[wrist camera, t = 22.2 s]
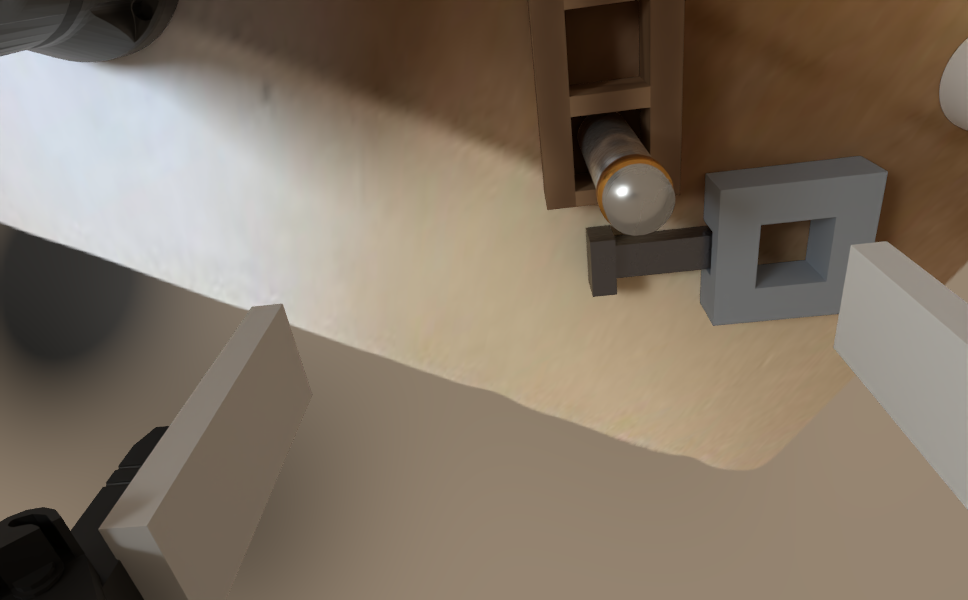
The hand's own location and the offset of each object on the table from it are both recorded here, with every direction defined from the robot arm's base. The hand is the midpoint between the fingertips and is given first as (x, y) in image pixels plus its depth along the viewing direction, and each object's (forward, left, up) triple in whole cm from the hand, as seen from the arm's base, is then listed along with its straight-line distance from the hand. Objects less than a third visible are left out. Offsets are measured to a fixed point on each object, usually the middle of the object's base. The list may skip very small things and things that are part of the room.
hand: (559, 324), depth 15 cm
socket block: (+20, -16, -37) cm, 45 cm away
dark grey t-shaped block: (+9, -16, -36) cm, 41 cm away
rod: (+6, -6, -37) cm, 38 cm away
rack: (+6, -2, -37) cm, 37 cm away
